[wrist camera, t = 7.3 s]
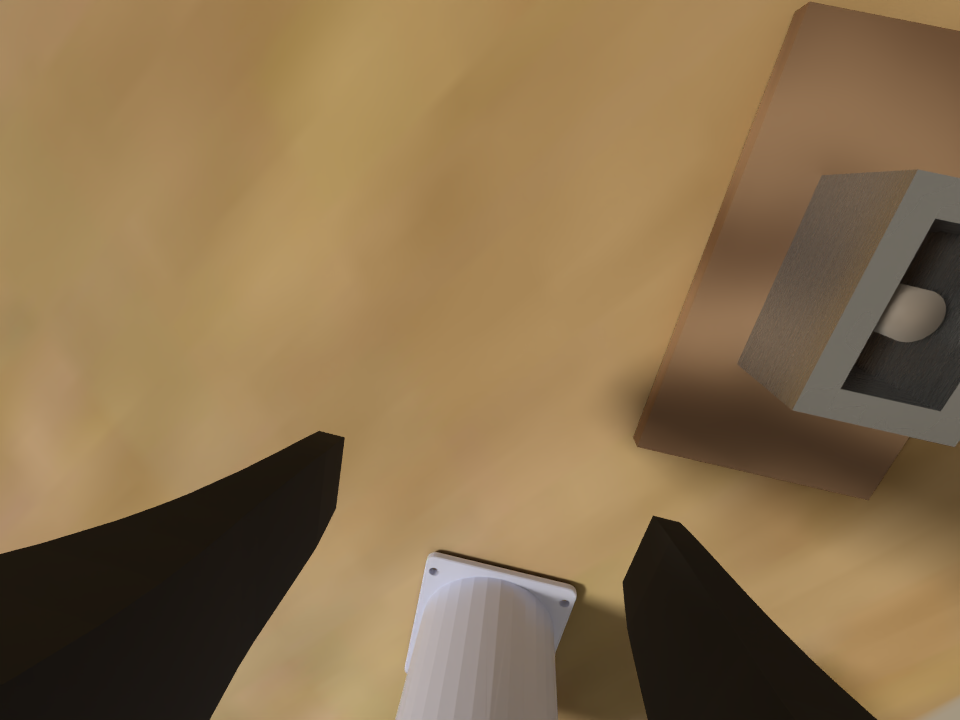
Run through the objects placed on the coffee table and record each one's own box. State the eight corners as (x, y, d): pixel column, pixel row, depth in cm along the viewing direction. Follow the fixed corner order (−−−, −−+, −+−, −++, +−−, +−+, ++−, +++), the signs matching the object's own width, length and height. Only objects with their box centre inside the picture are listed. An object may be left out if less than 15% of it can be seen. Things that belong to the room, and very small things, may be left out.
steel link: (864, 392, 17) (954, 447, 14) (736, 364, 17) (792, 410, 14) (971, 206, 15) (1119, 211, 11) (821, 175, 15) (918, 169, 11)
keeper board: (855, 488, 20) (931, 557, 16) (633, 437, 20) (656, 493, 16) (1115, 75, 14) (1331, 31, 10) (795, 11, 14) (889, -54, 10)
